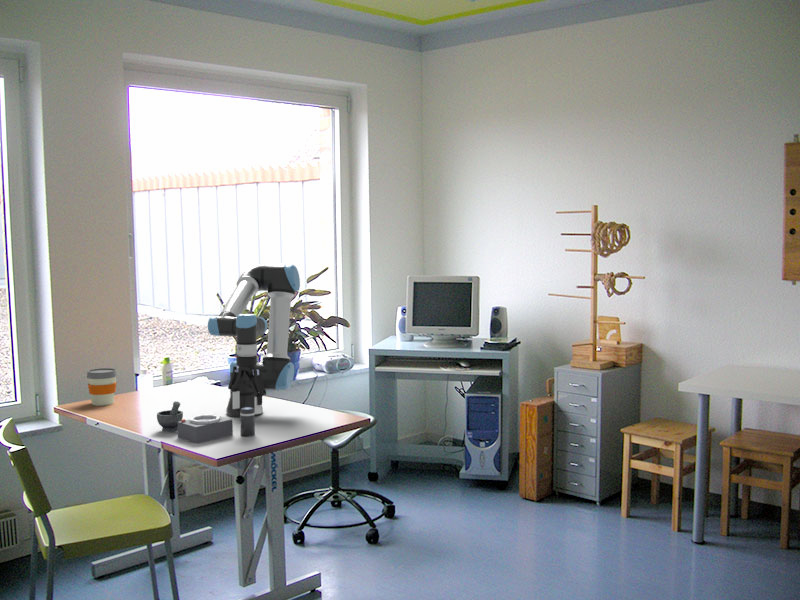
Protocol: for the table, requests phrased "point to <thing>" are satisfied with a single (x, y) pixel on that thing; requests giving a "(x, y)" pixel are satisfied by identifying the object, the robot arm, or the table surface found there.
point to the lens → (247, 421)
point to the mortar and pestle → (170, 418)
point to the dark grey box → (204, 428)
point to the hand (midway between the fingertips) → (247, 411)
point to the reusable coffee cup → (102, 385)
